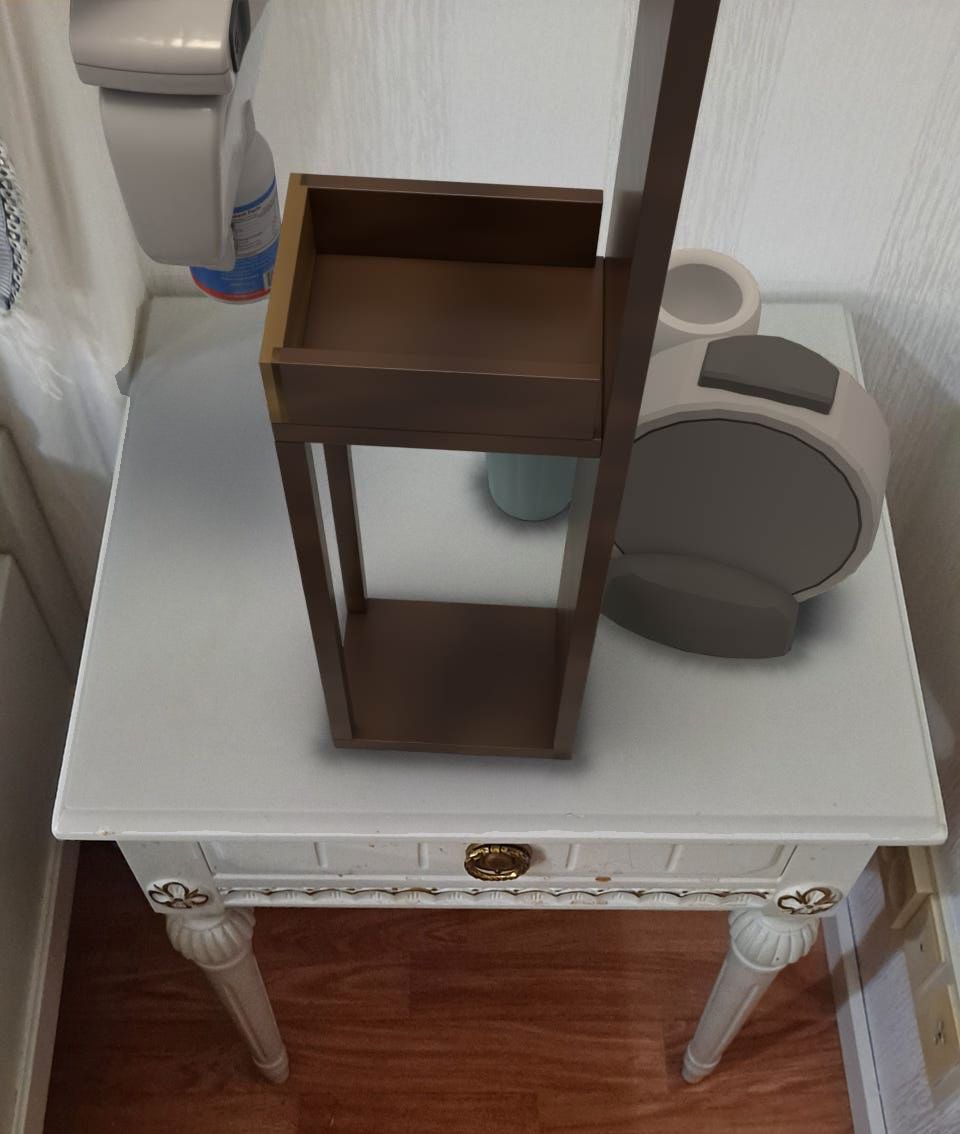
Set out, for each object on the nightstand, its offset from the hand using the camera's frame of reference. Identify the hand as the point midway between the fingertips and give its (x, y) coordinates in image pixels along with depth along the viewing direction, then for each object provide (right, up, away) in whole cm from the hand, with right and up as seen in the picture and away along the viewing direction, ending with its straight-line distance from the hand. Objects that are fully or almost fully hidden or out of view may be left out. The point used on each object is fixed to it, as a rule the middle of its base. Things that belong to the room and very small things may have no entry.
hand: (229, 216), depth 62 cm
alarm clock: (+27, -17, +11) cm, 34 cm away
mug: (+27, -3, +17) cm, 32 cm away
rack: (+12, -24, +8) cm, 28 cm away
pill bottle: (0, -2, +4) cm, 4 cm away
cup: (+17, -10, +14) cm, 24 cm away
